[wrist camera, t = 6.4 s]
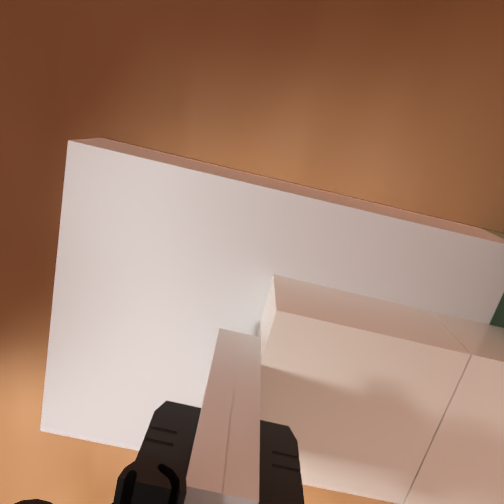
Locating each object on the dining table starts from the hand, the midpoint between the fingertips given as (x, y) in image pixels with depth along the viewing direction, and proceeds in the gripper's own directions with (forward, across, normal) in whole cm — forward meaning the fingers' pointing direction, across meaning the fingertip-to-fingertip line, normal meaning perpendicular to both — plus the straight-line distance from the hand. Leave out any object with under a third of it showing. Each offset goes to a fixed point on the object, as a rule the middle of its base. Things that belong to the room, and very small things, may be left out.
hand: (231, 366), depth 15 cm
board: (+4, +1, 0) cm, 4 cm away
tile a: (+1, +4, 0) cm, 4 cm away
